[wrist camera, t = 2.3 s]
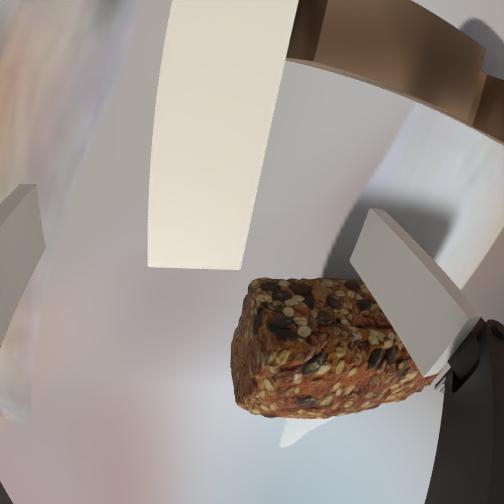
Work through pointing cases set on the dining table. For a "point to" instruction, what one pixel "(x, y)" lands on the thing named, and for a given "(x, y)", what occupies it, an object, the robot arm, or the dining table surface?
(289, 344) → the bread
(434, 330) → the robot arm
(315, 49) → the walnut rail
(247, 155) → the cream bar
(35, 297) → the dining table surface
